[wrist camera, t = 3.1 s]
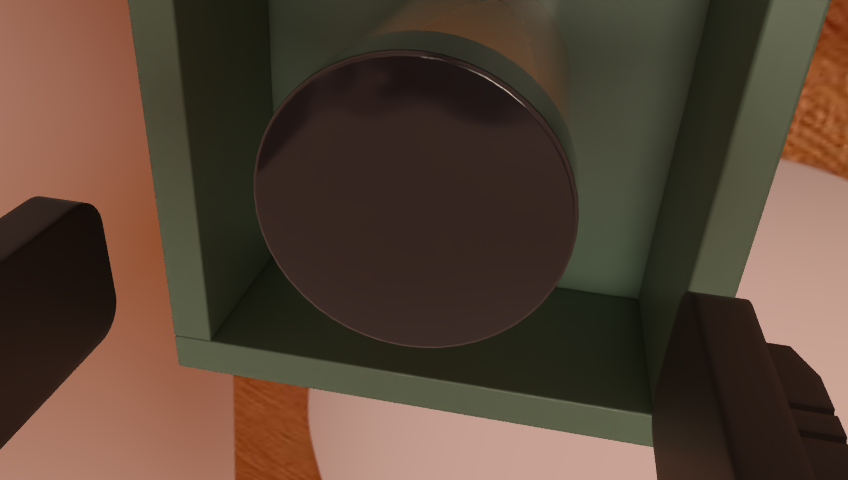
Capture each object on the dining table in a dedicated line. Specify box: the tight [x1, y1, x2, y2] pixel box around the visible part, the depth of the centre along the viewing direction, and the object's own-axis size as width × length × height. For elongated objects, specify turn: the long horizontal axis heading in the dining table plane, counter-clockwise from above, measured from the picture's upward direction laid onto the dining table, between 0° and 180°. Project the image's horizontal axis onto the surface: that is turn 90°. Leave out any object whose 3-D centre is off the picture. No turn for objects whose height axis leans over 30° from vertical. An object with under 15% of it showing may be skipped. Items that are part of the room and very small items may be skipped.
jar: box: [254, 0, 579, 348], centre depth 16 cm, size 6×6×8 cm
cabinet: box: [128, 0, 831, 447], centre depth 27 cm, size 14×13×28 cm
